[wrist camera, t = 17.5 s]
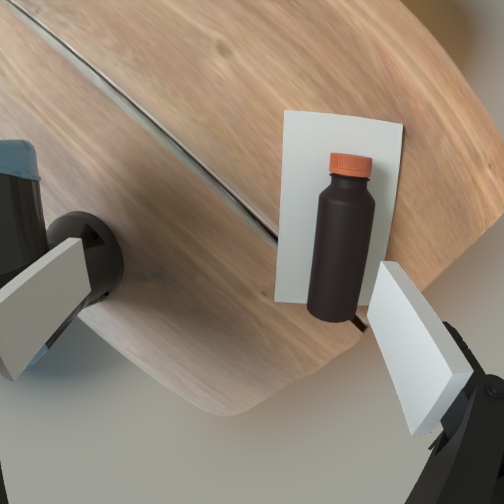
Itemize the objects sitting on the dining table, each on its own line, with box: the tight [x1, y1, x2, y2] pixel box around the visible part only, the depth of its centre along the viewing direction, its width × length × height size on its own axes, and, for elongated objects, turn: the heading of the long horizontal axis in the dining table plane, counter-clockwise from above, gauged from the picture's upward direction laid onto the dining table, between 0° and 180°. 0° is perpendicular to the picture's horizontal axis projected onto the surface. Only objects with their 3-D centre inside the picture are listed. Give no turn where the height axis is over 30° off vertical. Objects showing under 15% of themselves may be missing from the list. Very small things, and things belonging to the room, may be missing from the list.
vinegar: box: [307, 153, 375, 323], centre depth 36 cm, size 7×7×20 cm
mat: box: [274, 110, 403, 306], centre depth 38 cm, size 15×26×1 cm, turn 178°
